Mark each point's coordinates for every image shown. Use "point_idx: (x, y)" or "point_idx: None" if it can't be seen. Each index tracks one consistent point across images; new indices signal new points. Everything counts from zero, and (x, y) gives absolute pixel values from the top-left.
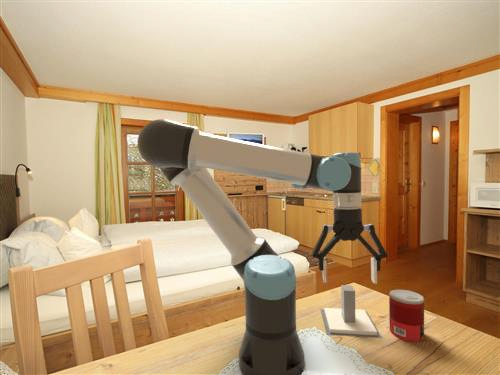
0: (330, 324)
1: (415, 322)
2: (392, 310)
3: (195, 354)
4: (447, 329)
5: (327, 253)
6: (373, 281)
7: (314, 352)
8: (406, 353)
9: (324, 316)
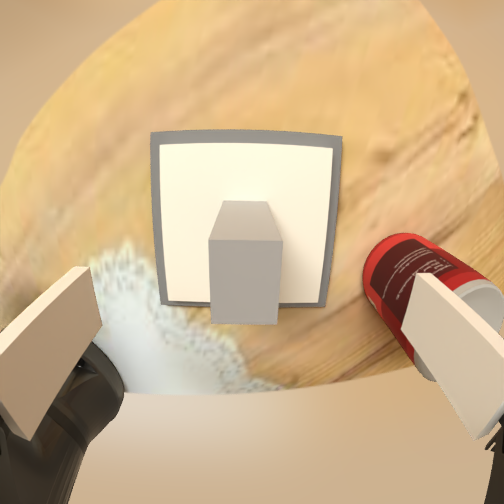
0: (171, 272)
1: None
2: (393, 325)
3: None
4: (491, 231)
5: (15, 492)
6: (408, 321)
7: (136, 352)
8: (354, 340)
9: (159, 189)
